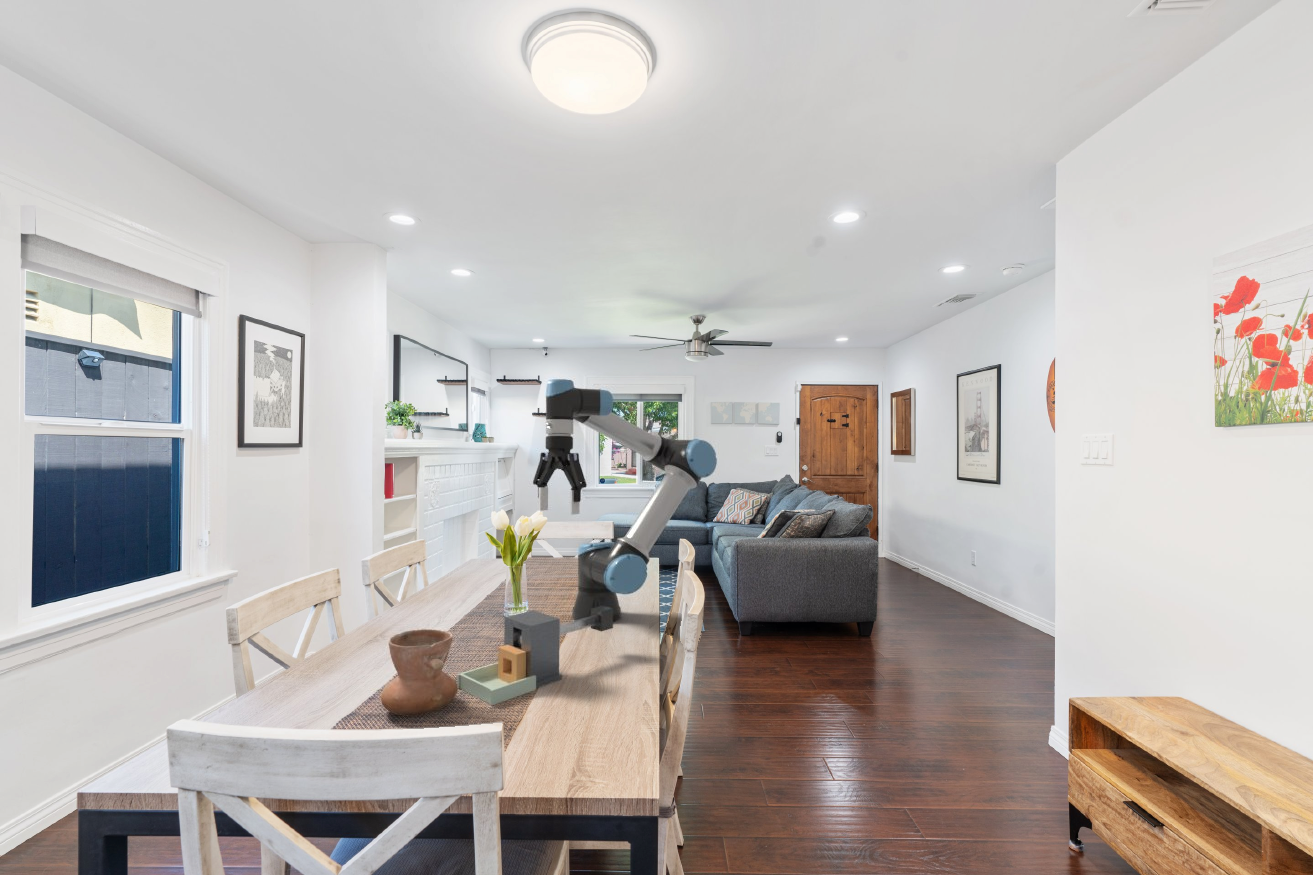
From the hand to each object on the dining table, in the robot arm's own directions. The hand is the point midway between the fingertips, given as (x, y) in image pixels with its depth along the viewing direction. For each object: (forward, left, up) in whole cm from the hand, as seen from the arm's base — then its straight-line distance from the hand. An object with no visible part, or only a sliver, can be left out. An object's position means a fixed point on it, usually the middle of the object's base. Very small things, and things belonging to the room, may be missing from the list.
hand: (558, 512), depth 169 cm
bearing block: (+22, +18, -35) cm, 45 cm away
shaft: (+12, +18, -28) cm, 35 cm away
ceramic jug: (+47, +14, -35) cm, 60 cm away
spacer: (+27, +18, -31) cm, 45 cm away
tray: (+31, +18, -35) cm, 50 cm away
